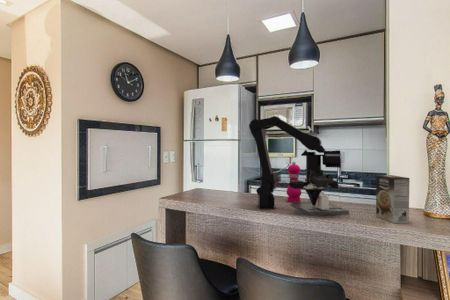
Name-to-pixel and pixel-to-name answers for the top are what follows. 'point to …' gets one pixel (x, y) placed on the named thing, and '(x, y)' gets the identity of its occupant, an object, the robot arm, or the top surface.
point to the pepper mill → (293, 175)
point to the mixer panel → (313, 210)
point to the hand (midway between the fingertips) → (313, 205)
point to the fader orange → (322, 202)
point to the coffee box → (392, 198)
